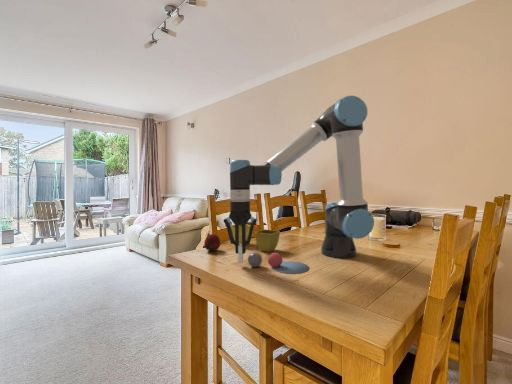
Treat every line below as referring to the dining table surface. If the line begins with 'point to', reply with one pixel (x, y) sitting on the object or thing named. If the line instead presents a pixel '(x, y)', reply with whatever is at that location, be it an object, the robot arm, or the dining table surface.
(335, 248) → the robot arm
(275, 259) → the object ball
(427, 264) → the dining table surface
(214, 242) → the dark red bumpy ball
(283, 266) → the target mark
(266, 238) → the flower pot
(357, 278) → the dining table surface
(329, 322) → the dining table surface
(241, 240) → the plant pot
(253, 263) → the blue-grey ball
